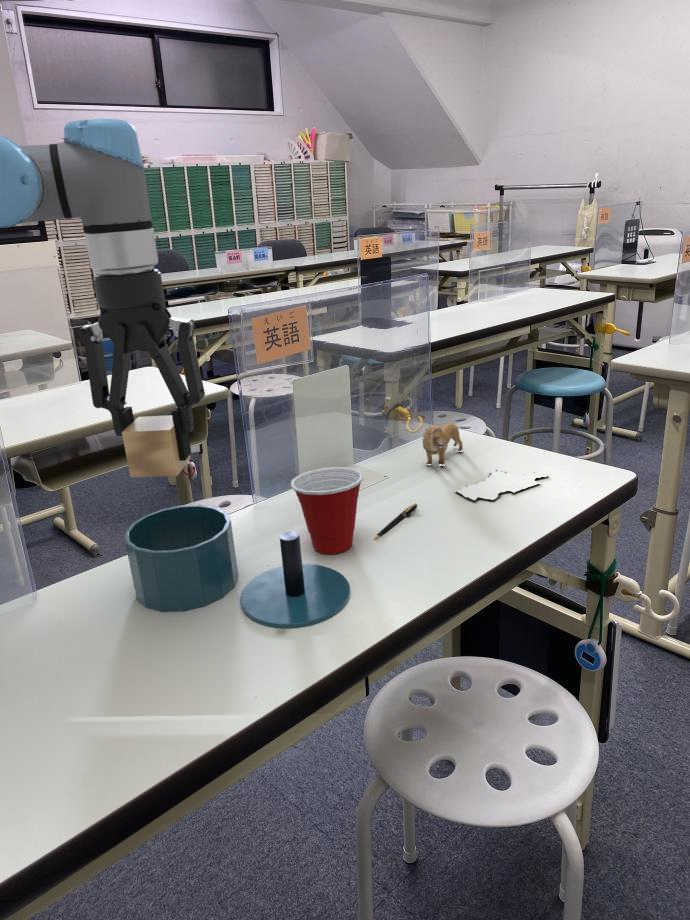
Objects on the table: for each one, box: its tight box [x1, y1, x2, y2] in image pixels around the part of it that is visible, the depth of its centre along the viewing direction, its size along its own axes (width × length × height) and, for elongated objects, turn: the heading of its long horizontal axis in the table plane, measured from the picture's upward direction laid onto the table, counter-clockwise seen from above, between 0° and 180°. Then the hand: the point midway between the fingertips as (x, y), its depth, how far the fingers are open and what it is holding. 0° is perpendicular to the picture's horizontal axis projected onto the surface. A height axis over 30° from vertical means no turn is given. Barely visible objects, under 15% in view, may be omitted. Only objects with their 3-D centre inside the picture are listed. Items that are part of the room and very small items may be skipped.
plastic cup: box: [290, 466, 364, 556], centre depth 103 cm, size 11×11×12 cm
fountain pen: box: [373, 502, 418, 540], centre depth 111 cm, size 14×1×2 cm, turn 146°
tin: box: [123, 504, 239, 613], centre depth 96 cm, size 14×14×10 cm
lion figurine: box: [422, 422, 464, 465], centre depth 135 cm, size 15×5×9 cm, turn 154°
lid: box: [240, 530, 351, 629], centre depth 91 cm, size 15×15×10 cm
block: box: [121, 414, 192, 479], centre depth 86 cm, size 6×6×6 cm
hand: (159, 457), depth 87 cm, fingers closed on block, 6 cm apart
